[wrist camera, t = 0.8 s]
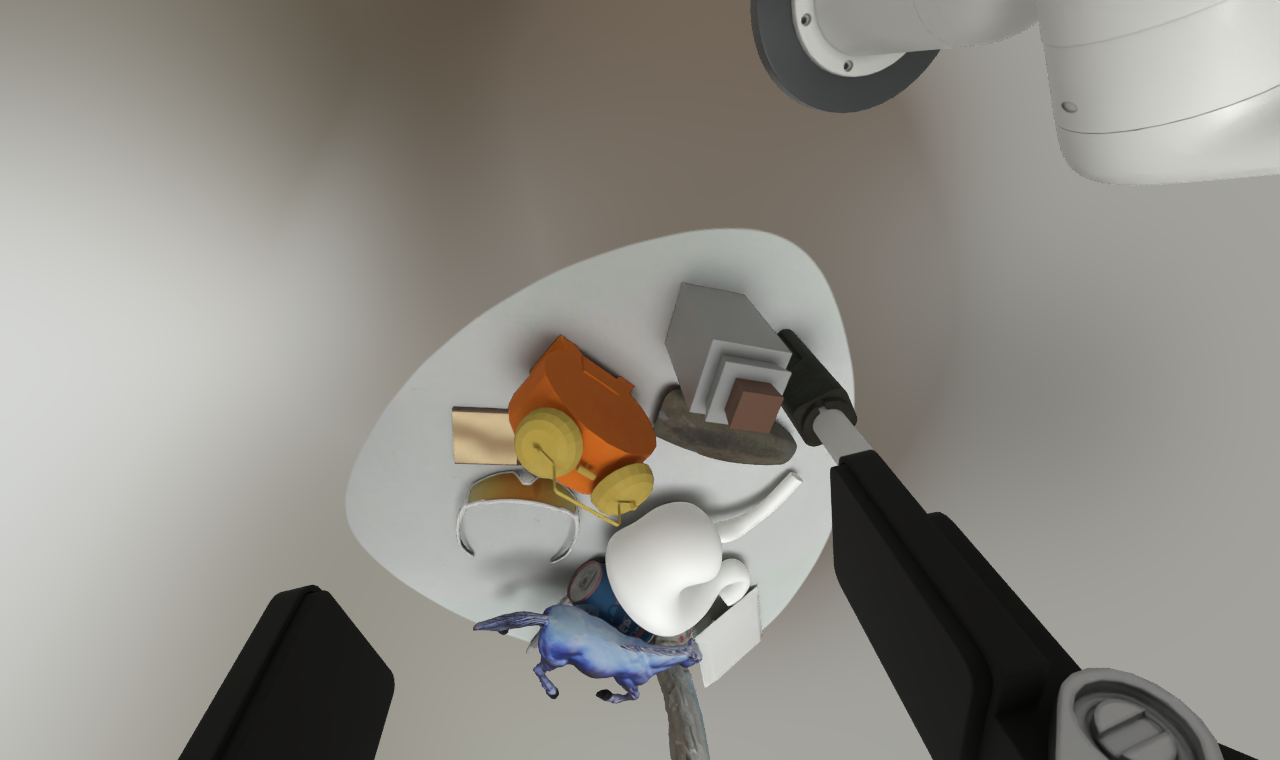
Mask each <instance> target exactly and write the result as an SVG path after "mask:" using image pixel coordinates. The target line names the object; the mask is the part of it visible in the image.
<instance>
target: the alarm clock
mask: <svg viewBox="0 0 1280 760" xmlns="http://www.w3.org/2000/svg"><path fill="white" fill-rule="evenodd" d="M530 373H531V374H530V376H529V377H528V378H527V379H526V380H525V381H524V383H523V384H522V385H521V386H520V387H519V389H518V390H517V391H516V392H515V393H514V395H513V397H512V399H511V401H510V403H509V407H508V410H509V422H510V425H511V427H512V430H513V432H514V435H515V436H514V449H515V452H516V455H517V458H518V460H519V461H520V463H521V464H522V465H523V467H524V468H525V469H526V470H528V471H529V472H530V473H531V474H533V475H535V476H538V477H540V478H549V479H552V478H553V489H554V492H555V493H556V494H557V495H559V496H561V497H563V498H565V499H567V500H568V501H570V502H572V503H574V504H576V505H578V506H579V507H581V508H583V509H585V510H587V511H589V512H590V513H592V514H594V515H596V516H598V517H600V518H601V519H603V520H605V521H607V522H609V523H611V524H612V525H614V526H616V527H618V526H619V525H620V524H621V514H623V513H626V512H628V511H630V510H632V511H634V510H636V509H637V506H639V505H640V504H641V503H642V502H644V501H645V500H646V499H647V498H648V496H649V495H650V494H651V492H652V489H653V482H654V477H653V474H652V471H651V469H650V467H649V465H647V464H644V463H643V462H644V461H645V460H646V459H647V458H648V457H649V456H650V455H651V454H652V452H653V451H654V449H655V448H656V435H655V432H654V429H653V427H652V424H651V422H650V420H649V419H648V417H647V416H646V414H645V412H644V411H643V409H642V408H641V406H640V405H639V404H638V403H637V402H636V400H635V399H634V398H633V397H632V395H631V394H630V392H631V391H632V390H633V388H634V387H635V386H634V385H632V384H631V383H630V382H628V381H627V380H625V379H624V378H622V377H621V376H620V377H618V378H617V379H616V378H615V377H613V376H612V375H610V374H609V373H608V372H606V371H605V370H603V369H602V368H600V367H599V366H597V365H596V364H594V363H593V362H592V361H590V360H589V359H587V358H586V357H584V356H583V355H582V353H581V352H580V350H579V349H578V347H577V346H576V345H575V344H573V343H572V342H571V341H569V340H568V339H566V338H565V337H563V336H562V335H560V336H559V337H558V338H557V340H556V341H555V342H554V343H553V344H552V346H551V347H550V348H549V349H548V350H547V352H546V353H545V354H544V355H543V356H542V357H541V359H540V360H539V361H538V362H537V363H536V365H535V366H534V367H533V368H532V369H531V371H530ZM556 480H557V481H558V482H560V483H561V484H562V485H564V486H566V487H568V488H571V489H573V490H575V491H578V492H580V493H582V494H589V495H591V502H592V503H593V504H594V505H595V506H596V508H597V509H598V510H599V511H600V512H602V513H605V514H607V515H612V516H614V515H618V523H616V522H614V521H612V520H610V519H609V518H607V517H605V516H603V515H601V514H600V513H598V512H596V511H594V510H592V509H590V508H589V507H587V506H585V505H583V504H581V503H580V502H578V501H576V500H574V499H572V498H570V497H569V496H567V495H565V494H563V493H561V492H560V491H558V490H557V488H556Z"/></svg>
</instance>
